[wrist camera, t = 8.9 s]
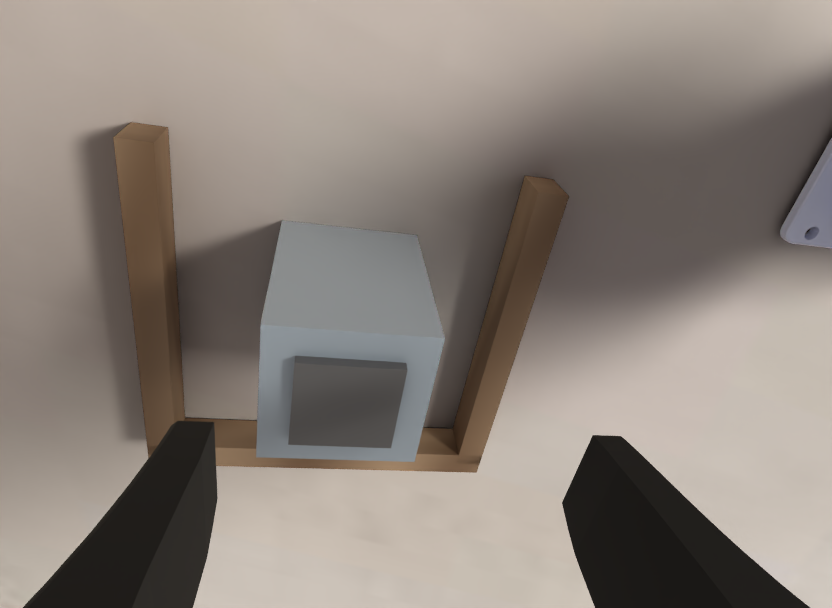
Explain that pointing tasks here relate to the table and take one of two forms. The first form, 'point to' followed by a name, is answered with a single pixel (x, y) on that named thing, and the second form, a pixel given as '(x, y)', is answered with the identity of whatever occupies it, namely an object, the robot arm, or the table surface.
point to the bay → (237, 439)
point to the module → (346, 346)
